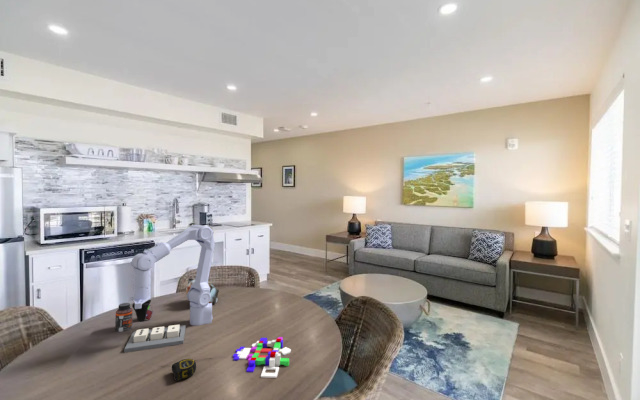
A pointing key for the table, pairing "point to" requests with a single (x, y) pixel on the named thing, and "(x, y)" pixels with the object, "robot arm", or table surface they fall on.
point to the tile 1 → (157, 333)
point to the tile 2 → (173, 331)
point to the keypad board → (155, 341)
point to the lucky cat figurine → (212, 290)
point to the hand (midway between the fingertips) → (141, 321)
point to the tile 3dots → (141, 335)
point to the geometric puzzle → (148, 313)
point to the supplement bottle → (123, 317)
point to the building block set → (264, 356)
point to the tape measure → (184, 368)
